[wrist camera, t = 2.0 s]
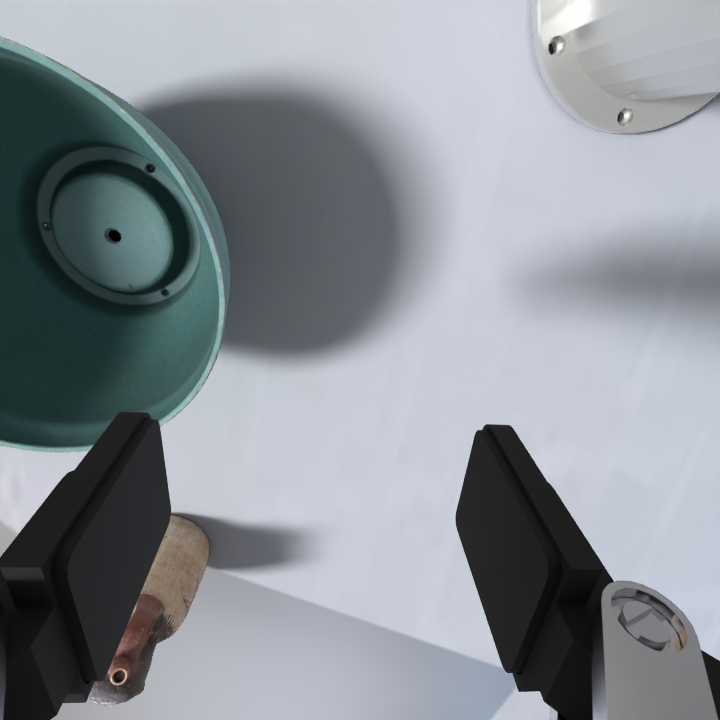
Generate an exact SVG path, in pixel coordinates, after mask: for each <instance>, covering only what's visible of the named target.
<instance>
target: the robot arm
mask: <svg viewBox="0 0 720 720" xmlns="http://www.w3.org/2000/svg"><path fill="white" fill-rule="evenodd" d="M531 33H532V43H533V51H534V55H535V59H536V62H537V66H538V69H539V73H540V76H541V78H542V80H543V81H544V83H545V85H546V87H547V89H548V91H549V93H550V95H551V96H552V98H553V99H554V100H555V101H556V102H557V104H558V105H559V106H560V107H561V109H562V110H563V111H564V112H565V113H567V114H568V115H569V116H571V117H572V118H573V119H575V120H576V121H577V122H579V123H581V124H583V125H585V126H588V127H590V128H592V129H595V130H597V131H603V132H609V133H615V134H620V133H640V132H646V131H652V130H657V129H659V128H662V127H665V126H667V125H670V124H673V123H675V122H678V121H680V120H681V119H683V118H685V117H686V116H688V115H690V114H692V113H693V112H695V111H697V110H699V109H700V108H701V107H702V106H704V105H705V104H706V103H707V102H709V101H710V100H711V99H712V98H714V97H715V96H716V95H717V94H719V93H720V0H532V8H531ZM549 43H550V44H552V46H553V52H552V54H550V53H549V51H548V48H549ZM618 114H619V115H620V116H619V120H618V121H617V119H618ZM170 517H171V505H170V498H169V490H168V483H167V476H166V468H165V461H164V453H163V446H162V439H161V431H160V425H159V421H158V420H157V419H151V416H150V414H149V413H147V412H119V413H118V414H117V415H116V417H115V418H114V419H113V421H112V422H111V423H110V425H109V426H108V427H107V429H106V430H105V431H104V432H103V434H102V435H101V436H100V438H99V439H98V440H97V442H96V443H95V444H94V445H93V447H92V448H91V449H90V451H89V452H88V453H87V455H86V456H85V457H84V459H83V460H82V461H81V462H80V464H79V465H78V466H77V468H76V469H75V470H74V471H71V472H69V473H67V474H66V475H65V476H64V477H63V478H62V479H61V481H60V482H59V483H58V485H57V486H56V487H55V488H54V490H53V491H52V492H51V494H50V495H49V496H48V497H47V499H46V500H45V501H44V502H43V504H42V505H41V506H40V508H39V509H38V510H37V511H36V513H35V514H34V515H33V516H32V518H31V519H30V520H29V522H28V523H27V524H26V525H25V527H24V528H23V529H22V530H21V532H20V533H19V534H18V536H17V537H16V538H15V539H14V541H13V542H12V543H11V545H10V546H9V547H8V548H7V550H6V551H5V552H4V553H3V555H2V556H1V557H0V720H50V719H52V718H53V717H55V716H56V715H57V714H58V711H59V709H60V707H61V705H62V703H84V702H86V701H87V698H88V696H89V694H90V692H91V689H92V687H93V685H94V682H95V681H102V680H103V679H104V678H105V676H106V675H107V673H108V671H109V668H110V666H111V664H112V661H113V659H114V656H115V654H116V651H117V649H118V647H119V644H120V642H121V639H122V637H123V635H124V632H125V630H126V627H127V625H128V622H129V620H130V618H131V615H132V613H133V610H134V608H135V605H136V603H137V601H138V598H139V596H140V593H141V591H142V589H143V586H144V584H145V581H146V579H147V576H148V574H149V572H150V569H151V567H152V564H153V562H154V559H155V557H156V555H157V552H158V550H159V547H160V545H161V543H162V540H163V538H164V535H165V533H166V530H167V528H168V525H169V522H170ZM456 527H457V530H458V533H459V536H460V539H461V542H462V546H463V549H464V552H465V555H466V558H467V561H468V564H469V567H470V570H471V573H472V576H473V579H474V582H475V585H476V588H477V591H478V594H479V597H480V600H481V603H482V606H483V609H484V612H485V615H486V618H487V621H488V624H489V627H490V630H491V633H492V636H493V639H494V642H495V645H496V648H497V651H498V654H499V657H500V660H501V663H502V666H503V668H504V670H505V671H506V672H507V673H513V676H514V679H515V682H516V685H517V688H518V691H519V692H527V691H540V692H541V695H542V697H543V700H544V702H545V703H547V704H548V705H549V706H550V719H549V720H720V661H719V660H717V659H715V658H714V657H712V656H710V655H709V654H707V653H705V652H704V651H702V650H701V649H700V645H699V641H698V637H697V635H696V633H695V630H694V628H693V626H692V624H691V623H690V621H689V620H688V619H687V617H686V616H685V615H684V613H683V612H682V611H681V610H680V609H679V608H678V607H677V606H676V605H675V604H673V603H672V602H671V601H670V600H669V599H667V598H666V597H664V596H663V595H662V594H660V593H659V592H657V591H655V590H653V589H651V588H649V587H647V586H645V585H643V584H639V583H635V582H631V581H616V582H614V581H613V579H612V578H611V576H610V575H609V573H608V572H607V570H606V569H605V567H604V566H603V564H602V562H601V561H600V559H599V558H598V556H597V555H596V553H595V552H594V550H593V549H592V547H591V545H590V544H589V542H588V541H587V539H586V538H585V536H584V535H583V533H582V532H581V530H580V528H579V527H578V525H577V524H576V522H575V521H574V519H573V518H572V516H571V515H570V513H569V511H568V510H567V508H566V507H565V505H564V504H563V502H562V501H561V499H560V498H559V496H558V494H557V493H556V491H555V490H554V488H553V487H552V486H551V485H550V484H549V483H548V482H547V481H546V479H545V478H544V476H543V474H542V473H541V471H540V470H539V468H538V467H537V465H536V464H535V462H534V460H533V459H532V457H531V456H530V454H529V453H528V451H527V450H526V448H525V446H524V445H523V443H522V442H521V440H520V439H519V437H518V435H517V434H516V432H515V431H514V429H513V428H512V427H511V426H509V425H491V424H487V425H485V426H484V427H483V430H478V431H477V432H476V434H475V437H474V441H473V445H472V449H471V453H470V458H469V462H468V466H467V470H466V474H465V478H464V482H463V487H462V491H461V495H460V499H459V503H458V507H457V511H456Z"/></svg>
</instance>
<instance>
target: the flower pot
mask: <svg viewBox="0 0 720 720" xmlns="http://www.w3.org/2000/svg"><path fill="white" fill-rule="evenodd" d="M149 165H153V166H154V167H155V171H154V172H153V173H152V172H150V171H149V170H148V166H149ZM45 223H48V224H49V225H50V229H47V228H46V227H45V226H44V224H45ZM111 230H116V231H118V232H119V233H120V234H121V240H120V241H119V242H114V241H113V240H112V239H110V237H109V236H108V235H109V232H110V231H111ZM164 289H166V290H168V291H169V294H168V295H166V294H164V292H163V291H164ZM229 293H230V260H229V252H228V245H227V241H226V237H225V233H224V229H223V225H222V222H221V219H220V217H219V214H218V211H217V209H216V206H215V204H214V202H213V200H212V198H211V196H210V194H209V192H208V190H207V188H206V186H205V185H204V183H203V181H202V180H201V178H200V176H199V175H198V173H197V172H196V170H195V169H194V167H193V166H192V165H191V163H190V162H189V161H188V159H187V158H186V157H185V156H184V154H183V153H182V152H181V151H180V150H179V148H178V147H177V146H176V145H175V144H174V143H173V142H172V141H171V140H170V138H169V137H168V136H167V135H166V134H165V133H164V132H162V131H161V130H160V129H159V128H158V127H157V126H156V125H155V124H154V123H152V122H151V121H150V120H149V119H148V118H146V117H145V116H144V115H143V114H142V113H140V112H139V111H138V110H137V109H135V108H134V107H132V106H131V105H130V104H128V103H127V102H126V101H124V100H123V99H121V98H119V97H118V96H116V95H115V94H113V93H111V92H110V91H108V90H106V89H105V88H103V87H101V86H99V85H98V84H96V83H94V82H92V81H90V80H88V79H86V78H84V77H83V76H81V75H80V74H78V73H76V72H75V71H73V70H71V69H69V68H68V67H66V66H64V65H62V64H60V63H58V62H57V61H55V60H53V59H51V58H49V57H46V56H44V55H43V54H40V53H38V52H36V51H34V50H32V49H30V48H28V47H26V46H23V45H21V44H19V43H16V42H14V41H11V40H8V39H6V38H3V37H0V445H1V446H6V447H12V448H17V449H22V450H31V451H39V452H60V453H62V452H82V451H90V449H91V448H92V447H93V445H94V444H95V443H96V442H97V440H98V439H99V438H100V436H101V435H102V434H103V432H104V431H105V430H106V429H107V427H108V426H109V425H110V423H111V422H112V421H113V419H114V418H115V417H116V415H117V414H118V413H119V412H147V413H149V414H150V416H151V419H157V420H158V421H159V425H160V426H162V425H163V424H165V423H166V422H168V421H169V420H171V419H172V418H174V417H175V416H176V415H177V414H178V413H179V412H180V411H182V410H183V409H184V408H185V407H186V406H187V405H188V404H189V403H190V401H191V400H192V399H193V398H194V397H195V396H196V394H197V393H198V392H199V390H200V389H201V387H202V386H203V384H204V383H205V381H206V379H207V378H208V376H209V374H210V372H211V370H212V368H213V366H214V364H215V361H216V359H217V356H218V353H219V349H220V346H221V343H222V340H223V336H224V330H225V324H226V318H227V307H228V302H229Z"/></svg>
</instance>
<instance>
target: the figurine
mask: <svg viewBox="0 0 720 720" xmlns="http://www.w3.org/2000/svg"><path fill="white" fill-rule="evenodd" d="M208 558H209V542H208V539H207V537H206V535H205V533H204V532H203V531H202V530H201V528H200V527H199V526H197V525H196V524H195V523H193V522H192V521H190V520H187V519H185V518H182V517H179V516H174V515H171V517H170V522H169V525H168V528H167V530H166V533H165V535H164V538H163V540H162V543H161V545H160V547H159V550H158V552H157V555H156V557H155V559H154V562H153V564H152V567H151V569H150V572H149V574H148V576H147V579H146V581H145V584H144V586H143V589H142V591H141V593H140V596H139V598H138V601H137V603H136V605H135V608H134V610H133V613H132V615H131V618H130V620H129V622H128V625H127V627H126V630H125V632H124V635H123V637H122V639H121V642H120V644H119V647H118V649H117V651H116V654H115V656H114V659H113V661H112V664H111V666H110V668H109V671H108V673H107V675H106V676H105V678H104V679H103V680H102V681H95V682H94V685H93V687H92V689H91V692H90V694H89V697H90V699H91V700H92V701H93V702H95V703H98V704H101V705H105V706H114V705H116V704H119V703H122V702H126V701H128V700H130V699H131V698H133V697H134V696H136V695H139V694H140V693H141V692H142V691H143V690H144V686H145V679H146V676H147V674H148V671H149V668H150V665H151V661H152V656H153V652H154V649H155V646H156V644H157V643H159V642H161V641H163V640H165V639H167V638H169V637H170V636H172V635H173V634H174V633H175V632H176V631H177V629H178V628H179V626H180V625H181V624H182V623H183V621H184V619H185V618H186V616H187V613H188V611H189V608H190V606H191V604H192V602H193V599H194V597H195V594H196V592H197V589H198V587H199V584H200V582H201V579H202V577H203V574H204V571H205V568H206V565H207V562H208Z"/></svg>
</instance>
